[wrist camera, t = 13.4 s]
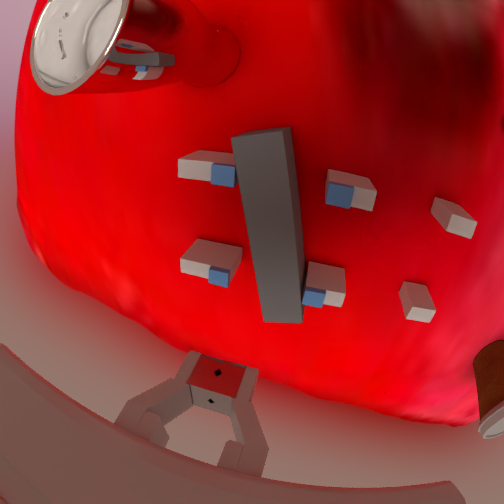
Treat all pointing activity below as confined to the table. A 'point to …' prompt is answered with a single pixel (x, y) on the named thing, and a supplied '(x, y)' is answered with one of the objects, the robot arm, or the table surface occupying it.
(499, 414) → the disposable coffee cup
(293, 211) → the tall grey pillar
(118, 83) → the beer glass
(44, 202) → the table surface
